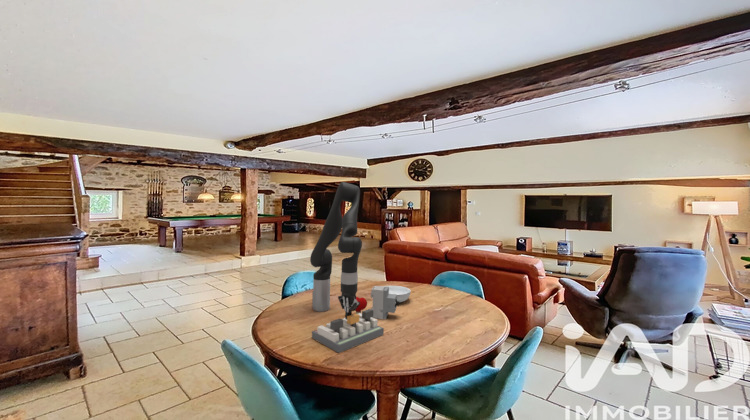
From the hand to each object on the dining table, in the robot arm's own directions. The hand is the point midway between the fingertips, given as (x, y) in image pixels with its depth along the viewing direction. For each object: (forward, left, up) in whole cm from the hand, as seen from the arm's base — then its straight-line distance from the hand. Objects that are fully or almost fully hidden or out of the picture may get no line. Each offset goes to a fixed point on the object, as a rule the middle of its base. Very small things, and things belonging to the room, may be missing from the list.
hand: (348, 319), depth 146 cm
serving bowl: (-20, +53, -8) cm, 57 cm away
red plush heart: (-15, +20, -8) cm, 27 cm away
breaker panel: (0, 0, -8) cm, 8 cm away
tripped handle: (+3, 0, -4) cm, 6 cm away
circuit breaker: (-5, +30, -8) cm, 32 cm away
